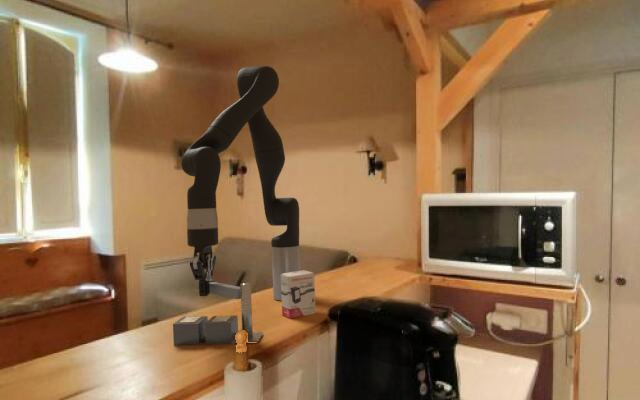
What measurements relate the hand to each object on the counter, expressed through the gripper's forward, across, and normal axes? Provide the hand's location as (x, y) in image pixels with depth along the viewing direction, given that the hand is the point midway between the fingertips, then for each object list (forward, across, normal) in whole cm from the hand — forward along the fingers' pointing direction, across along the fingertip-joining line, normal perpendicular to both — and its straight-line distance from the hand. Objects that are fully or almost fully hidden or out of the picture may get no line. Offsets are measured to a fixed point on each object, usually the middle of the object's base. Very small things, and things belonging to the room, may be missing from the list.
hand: (204, 295), depth 102 cm
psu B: (+10, -6, +1) cm, 11 cm away
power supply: (+9, -6, -6) cm, 13 cm away
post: (+9, -6, -12) cm, 16 cm away
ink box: (+9, +14, -22) cm, 28 cm away
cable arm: (0, 0, -5) cm, 5 cm away
